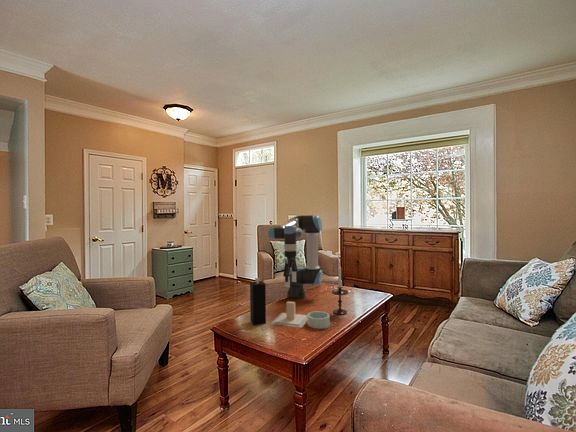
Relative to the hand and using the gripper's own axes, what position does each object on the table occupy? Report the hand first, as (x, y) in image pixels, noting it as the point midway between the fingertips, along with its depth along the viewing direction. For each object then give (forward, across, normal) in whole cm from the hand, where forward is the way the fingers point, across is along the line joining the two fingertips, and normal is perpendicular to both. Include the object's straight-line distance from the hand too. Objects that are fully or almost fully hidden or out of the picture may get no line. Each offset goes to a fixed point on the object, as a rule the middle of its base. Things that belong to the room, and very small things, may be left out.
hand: (290, 284), depth 184 cm
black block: (+23, +10, -18) cm, 31 cm away
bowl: (+23, +2, +18) cm, 29 cm away
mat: (+23, 0, 0) cm, 23 cm away
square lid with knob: (+22, 0, 0) cm, 22 cm away
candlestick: (+23, -23, +27) cm, 42 cm away
